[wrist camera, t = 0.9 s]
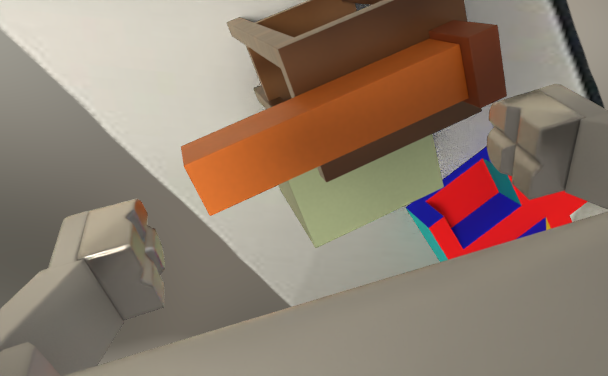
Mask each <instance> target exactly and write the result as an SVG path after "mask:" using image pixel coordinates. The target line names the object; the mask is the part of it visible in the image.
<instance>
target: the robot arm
mask: <svg viewBox="0 0 608 376" xmlns="http://www.w3.org/2000/svg"><path fill="white" fill-rule="evenodd" d="M489 121H490V122H491V123H492V124H493V126H494V127H493V129H492V130H491V132H490V133H489V135H488V136H487V151H488V155H489V159H490V161H491V162H492V164H493V166H494V167H495V168H496V169H497V170H498V171H499V172H500V173H503V174H506V175H509V176H512V184H513V185H514V186H515V187H516V188H517V189H518V190H519V191H520V192H521V193H523V194H524V195H525V196H526V197H527V198H528V199H529V200H531V199H535V198H539V197H542V196H546V195H550V194H554V193H558V192H561V191H565V193H568V194H570V195H573V196H576V197H578V198H581V199H583V200H586V201H588V202H591V203H593V204H596V205H598V206H601V207H603V208H606V209H608V110H606V109H604V108H602V107H600V106H599V105H597V104H595V103H593V102H591V101H590V100H588V99H586V98H584V97H582V96H581V95H579V94H577V93H575V92H573V91H572V90H570V89H568V88H566V87H564V86H563V85H559V84H553V85H549V86H546V87H543V88H540V89H537V90H534V91H531V92H527V93H524V94H521V95H517V96H514V97H511V98H507V99H504V100H501V101H497V102H494V103H492V106H491V108H490V111H489ZM164 260H165V259H164V254H163V249H162V245H161V242H160V239H159V236H158V234H157V232H156V230H155V229H154V228H152V227H150V226H148V225H147V212H146V210H145V208H144V206H143V204H142V202H141V201H140V200H138V199H134V200H130V201H126V202H122V203H118V204H114V205H110V206H107V207H103V208H98V209H94V210H91V211H86V212H82V213H79V214H75V215H72V216H69V217H67V218H65V219H64V220H63V223H62V226H61V229H60V232H59V235H58V239H57V242H56V245H55V248H54V251H53V254H52V258H51V261H50V264H49V267H48V269H46V270H42V271H40V272H39V273H38V274H37V275H36V276H35V277H34V278H32V279H31V280H30V281H29V282H28V283H27V284H26V285H25V286H24V287H23V288H22V289H21V290H20V291H19V292H18V293H17V294H16V295H14V296H13V297H12V298H11V299H10V300H9V301H8V302H7V303H6V304H5V305H4V306H3V307H2V308H1V309H0V376H608V212H605V213H602V214H598V215H595V216H592V217H588V218H585V219H582V220H578V221H575V222H572V223H568V224H565V225H562V226H558V227H555V228H552V229H548V230H545V231H542V232H538V233H535V234H532V235H529V236H525V237H522V238H519V239H515V240H512V241H509V242H505V243H502V244H499V245H495V246H492V247H489V248H485V249H482V250H479V251H475V252H472V253H469V254H465V255H462V256H459V257H456V258H452V259H449V260H446V261H442V262H439V263H436V264H433V265H429V266H426V267H423V268H419V269H416V270H413V271H409V272H406V273H403V274H399V275H396V276H393V277H389V278H386V279H383V280H379V281H376V282H373V283H370V284H366V285H363V286H360V287H356V288H353V289H350V290H346V291H343V292H340V293H336V294H333V295H330V296H326V297H323V298H320V299H316V300H313V301H310V302H306V303H303V304H300V305H296V306H293V307H290V308H287V309H283V310H280V311H277V312H274V313H270V314H267V315H263V316H260V317H257V318H253V319H250V320H247V321H243V322H240V323H237V324H233V325H230V326H227V327H223V328H220V329H217V330H214V331H210V332H207V333H204V334H200V335H197V336H194V337H190V338H187V339H184V340H180V341H177V342H174V343H170V344H167V345H164V346H160V347H157V348H154V349H150V350H147V351H144V352H140V353H137V354H134V355H131V356H127V357H124V358H121V359H118V360H114V361H111V362H107V363H104V364H101V365H98V364H99V362H100V361H101V359H102V357H103V356H104V354H105V353H106V351H107V349H108V348H109V346H110V344H111V343H112V341H113V340H114V338H115V336H116V335H117V333H118V332H119V330H120V328H121V327H122V325H123V324H124V321H123V320H127V319H129V318H133V317H136V316H139V315H142V314H145V313H148V312H151V311H154V310H158V309H160V308H164V283H163V280H162V279H161V277H160V274H161V273H162V272H163V270H164V269H165V263H164V262H165V261H164Z"/></svg>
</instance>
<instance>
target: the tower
mask: <svg viewBox="0 0 608 376" xmlns="http://www.w3.org/2000/svg"><path fill="white" fill-rule="evenodd" d="M429 36H430V39H427V40H425V41H422V42H420V43H418V44H415V45H413V46H411V47H409V48H406V49H404V50H402V51H399V52H397V53H395V54H392V55H390V56H388V57H386V58H383V59H381V60H379V61H376V62H374V63H372V64H369V65H367V66H365V67H363V68H360V69H358V70H356V71H353V72H351V73H349V74H346V75H344V76H342V77H340V78H337V79H335V80H333V81H330V82H328V83H326V84H324V85H321V86H319V87H317V88H314V89H312V90H310V91H307V92H305V93H303V94H301V95H298V96H296V97H294V98H291V99H289V100H287V101H284V102H282V103H280V104H278V105H275V106H273V107H271V108H268V109H266V110H264V111H262V112H259V113H257V114H255V115H252V116H250V117H248V118H245V119H243V120H241V121H239V122H236V123H234V124H232V125H229V126H227V127H225V128H222V129H220V130H218V131H216V132H213V133H211V134H209V135H206V136H204V137H202V138H199V139H197V140H195V141H193V142H190V143H188V144H186V145H183V146H181V150H182V157H183V163H184V167H185V169H186V171H187V173H188V175H189V177H190V179H191V181H192V183H193V185H194V187H195V188H196V190H197V192H198V194H199V196H200V198H201V200H202V202H203V204H204V206H205V207H206V209H207V211H208V213H209V215H210V216H211V215H213V214H216V213H218V212H220V211H222V210H224V209H227V208H229V207H231V206H233V205H235V204H238V203H240V202H242V201H244V200H246V199H249V198H251V197H253V196H255V195H257V194H260V193H262V192H264V191H266V190H268V189H271V188H273V187H275V186H277V185H279V184H281V183H284V182H286V181H288V180H290V179H292V178H295V177H297V176H299V175H301V174H303V173H306V172H308V171H310V170H312V169H314V168H317V167H319V166H321V165H323V164H325V163H328V162H330V161H332V160H334V159H336V158H338V157H341V156H343V155H345V154H347V153H349V152H352V151H354V150H356V149H358V148H360V147H363V146H365V145H367V144H369V143H371V142H374V141H376V140H378V139H380V138H382V137H385V136H387V135H389V134H391V133H393V132H396V131H398V130H400V129H402V128H404V127H406V126H409V125H411V124H413V123H415V122H417V121H420V120H422V119H424V118H426V117H428V116H431V115H433V114H435V113H437V112H439V111H442V110H444V109H446V108H448V107H450V106H453V105H455V104H457V103H459V102H461V101H462V102H465V103H468V104H470V105H473V106H476V107H478V108H482V107H484V106H486V105H489V104H491V103H493V102H495V101H497V100H499V99H502V98H504V97H506V96H507V93H506V86H505V78H504V71H503V63H502V55H501V48H500V40H499V32H498V26H497V25H492V24H484V23H475V22H466V21H457V20H453V21H450V22H448V23H446V24H443V25H441V26H439V27H436V28H434V29H432V30H430V31H429Z"/></svg>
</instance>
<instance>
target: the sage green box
mask: <svg viewBox="0 0 608 376" xmlns="http://www.w3.org/2000/svg"><path fill="white" fill-rule="evenodd" d="M279 187H280V189H281V192H282V194H283V195H284V197H285V198H286V200H287V202H288V203H289V205H290V207H291V208H292V210H293V212H294V213H295V215H296V217H297V218H298V220H299V222H300V223H301V225H302V226H303V228H304V230H305V231H306V233H307V235H308V236H309V238H310V240H311V241H312V243H313V245H314V246H315V248H317V247H319V246H321V245H324V244H326V243H328V242H330V241H332V240H334V239H336V238H338V237H340V236H342V235H345V234H347V233H349V232H351V231H353V230H355V229H357V228H359V227H361V226H363V225H366V224H368V223H370V222H372V221H374V220H376V219H378V218H380V217H382V216H384V215H386V214H389V213H391V212H393V211H395V210H397V209H399V208H401V207H403V206H405V205H407V204H410V203H412V202H414V201H416V200H418V199H420V198H422V197H424V196H426V195H428V194H431V193H433V192H435V191H437V190H439V189H441V188H443V187H444V185H443V181H442V176H441V172H440V167H439V163H438V158H437V154H436V149H435V145H434V140H433V136H432V134H431V135H429V136H427V137H425V138H422V139H420V140H418V141H416V142H414V143H411V144H409V145H407V146H405V147H403V148H401V149H398V150H396V151H394V152H392V153H390V154H388V155H385V156H383V157H381V158H379V159H377V160H375V161H372V162H370V163H368V164H366V165H364V166H362V167H359V168H357V169H355V170H353V171H351V172H349V173H346V174H344V175H342V176H340V177H338V178H336V179H333V180H331V181H329V182H326V181H325V180H324V179H323V178H322V177H321V176H320V174H319V171H318V168H314V169H312V170H310V171H308V172H306V173H303V174H301V175H299V176H297V177H295V178H292V179H290V180H288V181H286V182H284V183H281V184H279Z"/></svg>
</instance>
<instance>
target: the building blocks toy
mask: <svg viewBox="0 0 608 376" xmlns="http://www.w3.org/2000/svg"><path fill="white" fill-rule="evenodd" d="M442 181H443V185H444V187H443V188H441V189H439V190H437V191H435V192H433V193H431V194H428V195H426V196H424V197H422V198H420V199H418V200H416V201H414V202H412V203H411V204H410V205H409V206H407V207H406V209H407V210H408V212H409V214H410V215H411V217H412V218H413V220H414V222H415V223H416V225H417V226H418V228H419V229H420V231H421V233H422V234H423V236H424V237H425V239H426V240H427V242H428V244H429V245H430V247H431V248H432V250H433V251H434V253H435V255H436V256H437V258H438V259H439V261H440V262H442V261H446V260H449V259H452V258H456V257H459V256H462V255H465V254H469V253H472V252H475V251H479V250H482V249H485V248H489V247H492V246H495V245H499V244H502V243H505V242H509V241H512V240H515V239H519V238H522V237H525V236H529V235H532V234H535V233H538V232H542V231H545V230H548V229H552V228H555V227H558V226H562V225H565V224H568V223H572V221H571V218H570V216H569V215H570V214H572V213H573V212H574V211H576V210H577V209H578V208H580V207H581V206H582V205H584V204H585V203H586V202H588V201H586V200H583V199H581V198H578V197H576V196H573V195H570V194H568V193H565V191H561V192H558V193H554V194H550V195H546V196H542V197H539V198H535V199H531V200H529V199H528V198H527V197H526V196H525V195H524V194H523V193H521V192H520V191H519V190H518V189H517V188H516V187H515V186H514V185H513V184H512V176H509V175H506V174H503V173H500V172H499V171H498V170H497V169H496V168H495V167H494V166H493V164H492V162H491V161H490V159H489V155H488V151H487V147H485V148H484V149H483V150H481V151H480V152H479V153H477V154H476V155H475V156H473V157H472V158H471V159H469V160H468V161H467V162H465V163H464V164H463V165H461V166H460V167H459V168H458V169H456V170H455V171H454V172H452V173H451V174H450V175H448V176H447V177H446V178H444V179H443V180H442Z"/></svg>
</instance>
